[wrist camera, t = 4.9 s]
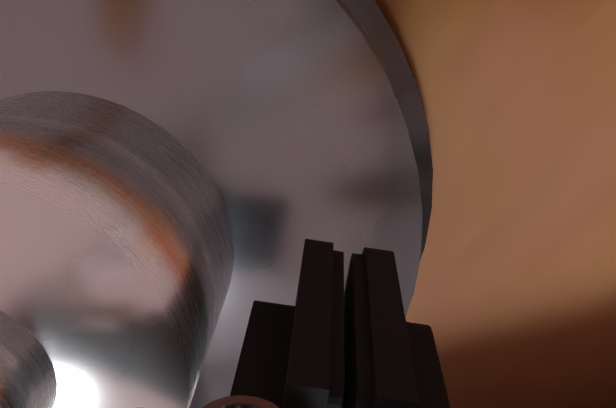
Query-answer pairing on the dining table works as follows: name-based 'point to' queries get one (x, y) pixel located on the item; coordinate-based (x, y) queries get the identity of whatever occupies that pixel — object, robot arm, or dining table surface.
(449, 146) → the dining table surface
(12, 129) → the cover
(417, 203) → the turntable
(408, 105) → the turntable base
